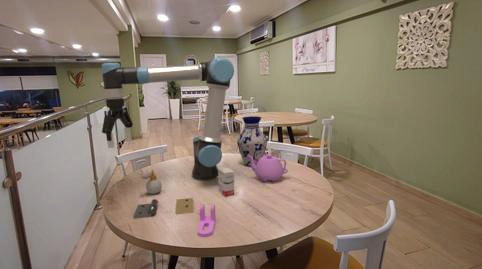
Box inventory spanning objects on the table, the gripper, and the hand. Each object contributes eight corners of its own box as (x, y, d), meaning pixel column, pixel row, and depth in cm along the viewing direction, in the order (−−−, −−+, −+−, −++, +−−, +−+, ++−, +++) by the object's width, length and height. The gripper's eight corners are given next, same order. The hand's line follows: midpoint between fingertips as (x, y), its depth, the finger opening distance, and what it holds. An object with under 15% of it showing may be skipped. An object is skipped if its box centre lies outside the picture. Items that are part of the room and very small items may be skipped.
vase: (241, 170, 167) (239, 120, 161) (235, 161, 185) (233, 116, 179) (271, 167, 171) (271, 118, 165) (262, 158, 189) (262, 115, 183)
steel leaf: (158, 205, 122) (157, 199, 122) (155, 216, 113) (154, 209, 112) (138, 207, 121) (137, 200, 120) (133, 218, 111) (132, 211, 111)
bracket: (201, 219, 110) (200, 202, 108) (215, 218, 110) (214, 202, 108) (196, 237, 97) (195, 219, 96) (212, 237, 97) (211, 219, 96)
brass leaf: (192, 203, 125) (192, 197, 124) (193, 213, 115) (192, 207, 115) (177, 204, 124) (176, 198, 123) (176, 215, 114) (175, 208, 113)
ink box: (234, 195, 131) (234, 171, 129) (225, 197, 129) (224, 172, 127) (227, 188, 139) (226, 166, 137) (218, 190, 137) (217, 167, 134)
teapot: (245, 183, 145) (245, 158, 142) (248, 173, 160) (248, 150, 158) (288, 184, 142) (288, 158, 140) (287, 174, 158) (287, 150, 155)
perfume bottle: (164, 189, 140) (162, 167, 137) (157, 197, 130) (154, 173, 128) (150, 189, 140) (148, 166, 138) (141, 197, 131) (139, 173, 129)
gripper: (123, 96, 138) (128, 138, 142) (88, 100, 114) (95, 150, 118) (136, 96, 137) (141, 138, 141) (104, 100, 112) (111, 151, 117)
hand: (120, 144), depth 129 cm, fingers open, 13 cm apart
